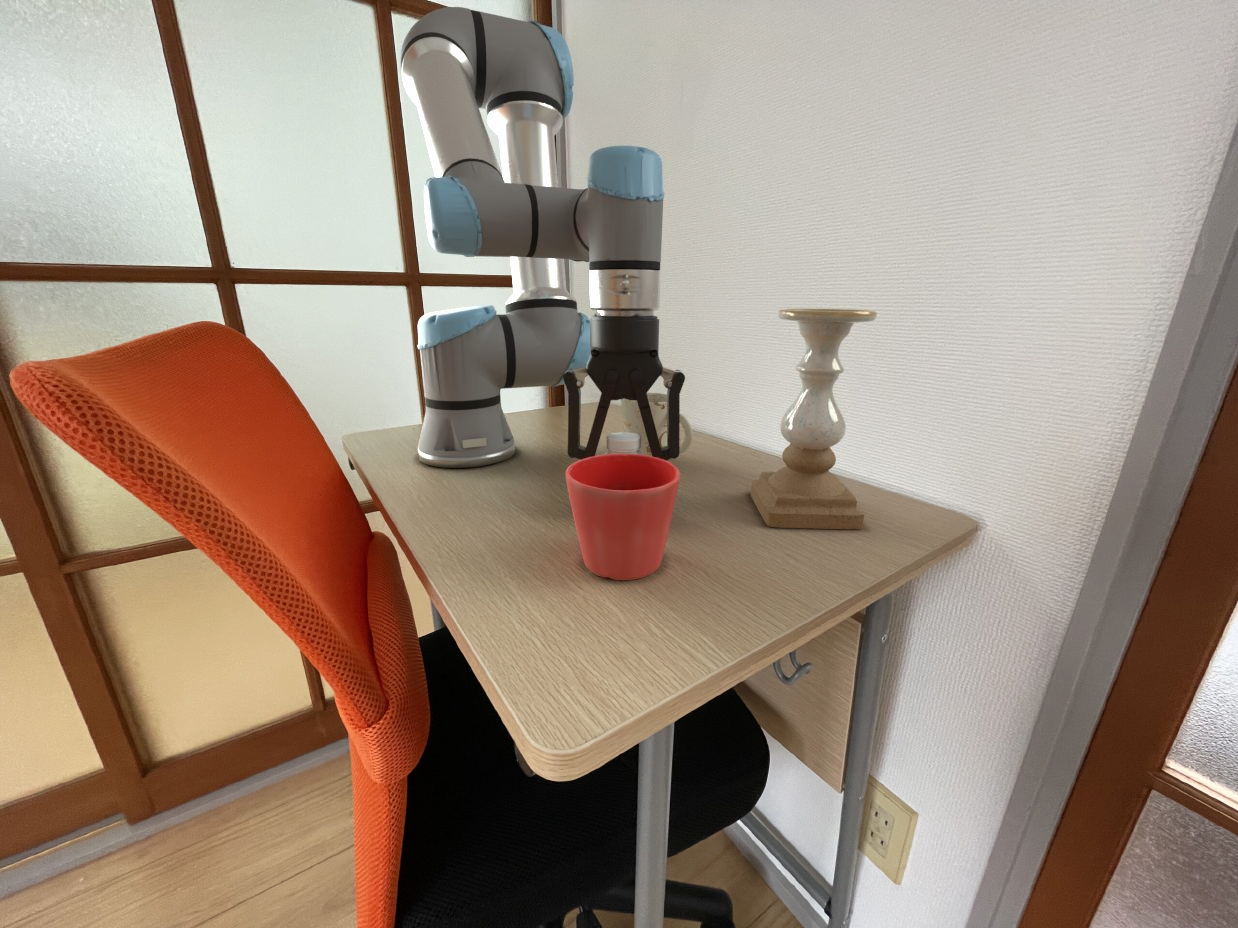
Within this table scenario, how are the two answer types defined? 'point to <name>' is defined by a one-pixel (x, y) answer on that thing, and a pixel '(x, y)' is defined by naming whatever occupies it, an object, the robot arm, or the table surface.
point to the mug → (659, 414)
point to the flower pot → (622, 512)
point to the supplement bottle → (623, 443)
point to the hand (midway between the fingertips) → (623, 511)
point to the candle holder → (812, 433)
